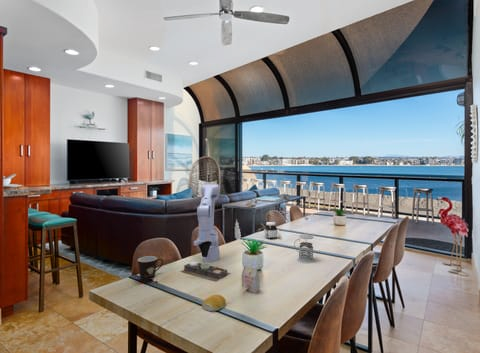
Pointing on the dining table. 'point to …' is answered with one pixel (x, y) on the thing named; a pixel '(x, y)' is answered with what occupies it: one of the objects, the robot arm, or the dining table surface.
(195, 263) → the cream button
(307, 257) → the french press
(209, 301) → the bread roll
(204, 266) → the sage button
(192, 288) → the dining table surface
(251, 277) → the tea bag
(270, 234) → the spread jar
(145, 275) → the coffee mug
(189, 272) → the button panel
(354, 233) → the dining table surface
